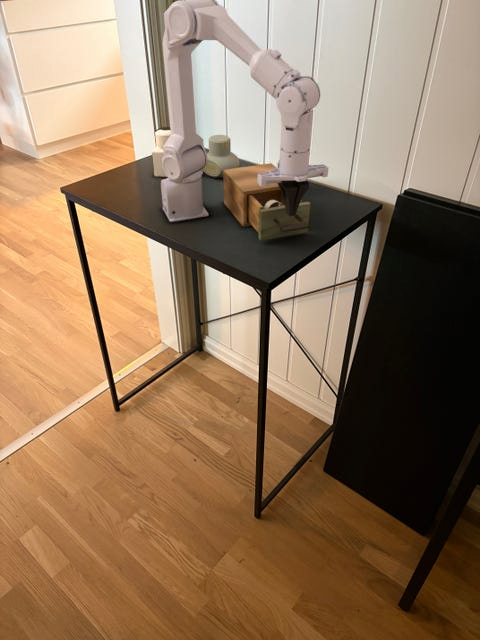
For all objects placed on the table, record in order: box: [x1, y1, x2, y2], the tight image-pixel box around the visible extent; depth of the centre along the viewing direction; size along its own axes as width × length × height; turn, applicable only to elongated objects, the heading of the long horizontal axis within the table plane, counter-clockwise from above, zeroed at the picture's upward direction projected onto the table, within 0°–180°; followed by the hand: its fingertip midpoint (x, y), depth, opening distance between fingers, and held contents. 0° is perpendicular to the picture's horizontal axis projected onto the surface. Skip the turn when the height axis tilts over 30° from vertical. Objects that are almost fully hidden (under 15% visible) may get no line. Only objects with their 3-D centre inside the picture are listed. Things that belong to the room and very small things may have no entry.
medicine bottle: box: [151, 126, 171, 178], centre depth 135 cm, size 7×7×12 cm
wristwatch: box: [263, 200, 283, 209], centre depth 109 cm, size 3×5×5 cm, turn 129°
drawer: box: [247, 189, 311, 242], centre depth 108 cm, size 17×11×7 cm, turn 21°
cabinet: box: [222, 162, 280, 228], centre depth 117 cm, size 14×13×9 cm
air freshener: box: [203, 134, 241, 179], centre depth 135 cm, size 11×8×10 cm
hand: (290, 213), depth 102 cm, fingers closed
